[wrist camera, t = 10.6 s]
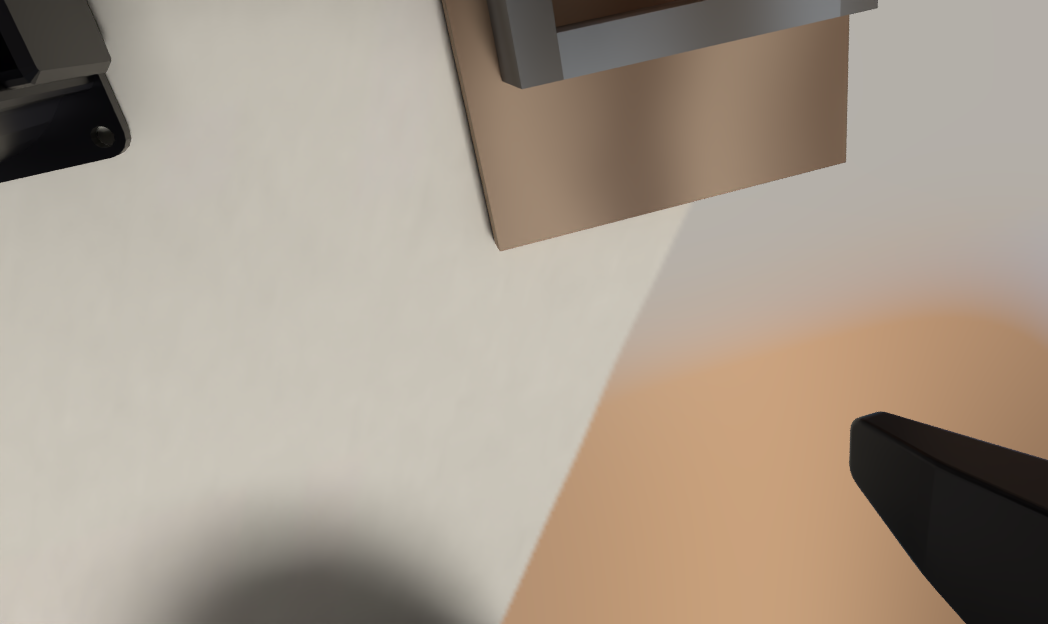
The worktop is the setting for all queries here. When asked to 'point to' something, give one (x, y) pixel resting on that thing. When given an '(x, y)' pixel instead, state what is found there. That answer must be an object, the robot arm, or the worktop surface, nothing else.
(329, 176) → the worktop surface
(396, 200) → the worktop surface
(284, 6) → the worktop surface
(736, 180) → the end holder
